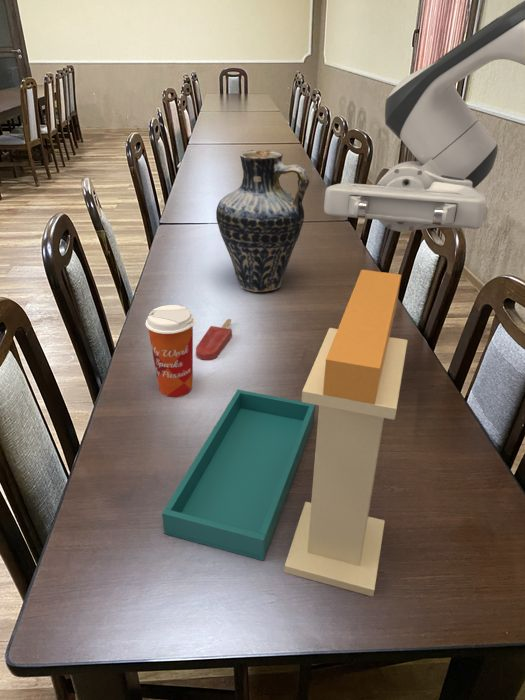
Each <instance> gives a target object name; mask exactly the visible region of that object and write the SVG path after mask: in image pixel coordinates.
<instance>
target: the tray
mask: <svg viewBox="0 0 525 700" xmlns="http://www.w3.org/2000/svg"><path fill="white" fill-rule="evenodd" d="M315 414H316V405H314V404H309V403H304V402H302V400H301V401H300V400H295V399H291V398H284V397H279V396H274V395H269V394H265V393H264V394H263V393H259V392H254V391H249V390H243V389H237V390H235V393H234V394H233V396H232V398H231V399H230V401H229V403H228V404H227V406H226V408H225V409H224V411H223V412H222V414H221V416H220V417H219V419H218V421H217V422H216V424H215V426H214V428H213V429H212V431H211V432H210V434H209V435H208V437H207V439H206V440H205V442H204V443H203V445H202V447H201V448H200V450H199V452H198V453H197V455H196V457H195V459H194V460H193V461H192V463H191V464H190V466H189V468H188V470H187V472H186V473H185V475H184V476H183V478H182V480H181V481H180V483H179V484H178V486H177V488H176V489H175V490H174V493H173V494H172V496H171V498H170V499H169V501H168V502H167V504H166V506H165V507H164V509H163V511H162V513H161V517H162V525H163V534H164V535H167V536H171V537H175V538H179V539H182V540H186V541H189V542H193V543H196V544H199V545H203V546H207V547H211V548H215V549H218V550H222V551H226V552H229V553H233V554H237V555H241V556H244V557H247V558H251V559H255V560H259V561H262V562H263V561H265V558H266V555H267V552H268V550H269V548H270V544H271V541H272V539H273V536H274V533H275V531H276V529H277V526H278V523H279V520H280V517H281V514H282V511H283V509H284V506H285V503H286V500H287V497H288V495H289V493H290V490H291V487H292V484H293V481H294V479H295V475H296V473H297V470H298V468H299V465H300V462H301V459H302V456H303V454H304V451H305V448H306V445H307V443H308V441H309V437H310V435H311V432H312V429H313V427H314V424H315V416H316V415H315Z"/></svg>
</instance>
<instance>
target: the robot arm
mask: <svg viewBox="0 0 525 700" xmlns="http://www.w3.org/2000/svg"><path fill="white" fill-rule="evenodd" d="M498 60H507V61H512V62H514V63H518V64H521V65H523V66H525V0H523V1H521V2H520V3H518V4H517V5H514V7H512V8H510V9H509V10H507V12H505V13H503V14H501V15H500V16H498V17H496V18H495V19H493V20H492V21H491V22H489V23H487V24H486V25H485V26H483V27H482V28H481V29H479V30H477V31H476V32H475V33H474V34H472V35H470V36H469V37H468V38H466V39H465V40H463V41H462V42H460V43H459V44H457V45H456V46H455V47H453V48H452V49H450V50H449V51H448V52H446V53H444V55H442V56H441V57H440V58H437V60H435V61H434V62H432V63H430V64H428V65H426V66H425V67H423V68H422V67H421V68H420V69H418V70H416V71H414V72H412V73H410V74H409V75H407V76H406V77H405V78H403V79H402V80H401V81H400V82H398V84H396V86H394V88H393V89H392V90H391V92H390V93H389V94H388V97H387V98H386V99H385V106H384V122H385V125H386V127H387V128H388V129H389V130H390V131H391V132H392V133H393V134H394V135H395V136H396V137H397V138H398V139H399V140H401V141H402V142H403V144H404V145H405V146H406V148H407V149H408V151H410V153H411V154H412V155H413V157H414V158H415V159H416V160H417V161H415V160H408V161H403V162H400V163H397V164H395V165H394V166H393V167H391V168H390V169H388V171H387V172H386V173H385V174H384V175H383V176H381V178H380V180H379V181H378V182H377V183H376V184H367V183H365V184H363V183H354V182H353V183H352V182H351V183H346V182H345V183H336V184H332V185H329V186H327V187H326V189H325V194H324V202H323V203H324V206H323V213H325V214H326V215H328V216H334V217H344V218H355V219H365V220H366V219H367V220H377V221H379V222H380V223H381V225H383V226H384V227H385V228H387V229H389V230H391V231H394V232H400V233H404V232H405V233H407V232H411V231H414V230H417V231H418V230H419V231H420V230H427V229H433V228H434V229H471V230H472V229H473V230H477V229H481V227H482V225H483V222H484V218H485V212H486V207H487V198H486V196H485V195H484V194H483V193H482V192H481V191H480V190H479V189H478V188H476V187H477V186H479V185H480V184H481V183H482V182H483V181H484V180H485V179H486V177H488V175H489V174H490V173H491V171H492V170H493V168H494V165H495V162H496V160H497V156H498V151H499V145H498V143H497V141H496V140H495V139H494V137H493V136H492V134H491V133H490V132H489V130H488V129H487V128H486V126H485V125H484V124H483V123H482V122H481V120H480V119H479V118H478V117H477V115H476V114H475V113H474V112H473V110H472V109H471V108H470V106H469V105H468V104H467V103H466V102H465V100H464V99H463V98H462V96H461V95H460V94H459V92H458V90H457V87H456V84H457V83H459V82H460V81H463V79H466V78H467V77H468V76H470V75H471V74H473V73H475V72H476V71H478V70H479V69H481V68H482V67H484V66H486V65H488V64H489V63H491V62H493V61H498Z"/></svg>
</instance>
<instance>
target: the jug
mask: <svg viewBox="0 0 525 700" xmlns="http://www.w3.org/2000/svg"><path fill="white" fill-rule="evenodd" d="M283 156H284V154H283V153H282V152H278V151H273V150H265V151H262V150H255V149H251V150H245V151H242V152H241V153H240V154H239V157H240V162H241V166H242V171H243V175H242V176H243V177H242V180H241V184H240V186H239V187H237V188H236V189H234V190H233V191H231V192H229V193H227V194H226V195H224V196H223V197H222V198H221V199H220V200H219V202H218V204H217V207H216V211H215V212H216V213H215V215H216V216H215V217H216V218H215V219H216V223H217V226H218V229H219V233H220V236H221V238H222V241H223V243H224V245H225V247H226V250H227V252H228V254H229V255H228V256H229V257H230V260H231V262H232V266H233V269H234V273H235V277H236V281H237V284H238V285H239V287H240V288H242V289H243V290H246V291H251V292H255V293H256V292H257V293H258V292H269V291H274V290H278V289H279V288H280V287H282V282H283V280H284V276H285V272H286V270H287V268H288V264H289V262H290V259H291V256H292V254H293V251H294V248H295V246H296V243H297V241H298V240H299V237H300V234H301V230H302V227H303V224H304V221H305V210H304V206H303V200H304V197H305V195H306V192H307V189H308V187H309V185H310V178H309V176H308V175H309V174H308V172H307V171H306V168H304V167H302V166H300V165H298V164H289V165H287V164H286V165H285V163H283V162H282V160H283ZM289 173H294V174H297V175H296V176H297V179H298V180H297V190H296V192H295V195H293V194H292V193H291V192H290V191H287V190H285V189H284V188H283V187H282V186H281V183H280V177H281V175H286V174H289Z"/></svg>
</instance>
